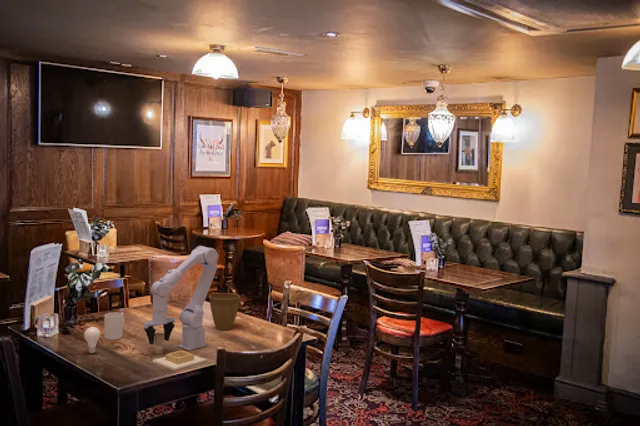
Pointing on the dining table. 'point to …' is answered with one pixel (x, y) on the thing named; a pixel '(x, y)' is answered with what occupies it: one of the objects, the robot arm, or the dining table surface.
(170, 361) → the socket plate
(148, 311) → the dining table surface
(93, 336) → the lightbulb
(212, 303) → the plant pot
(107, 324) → the mug
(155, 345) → the birch peg
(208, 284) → the robot arm
